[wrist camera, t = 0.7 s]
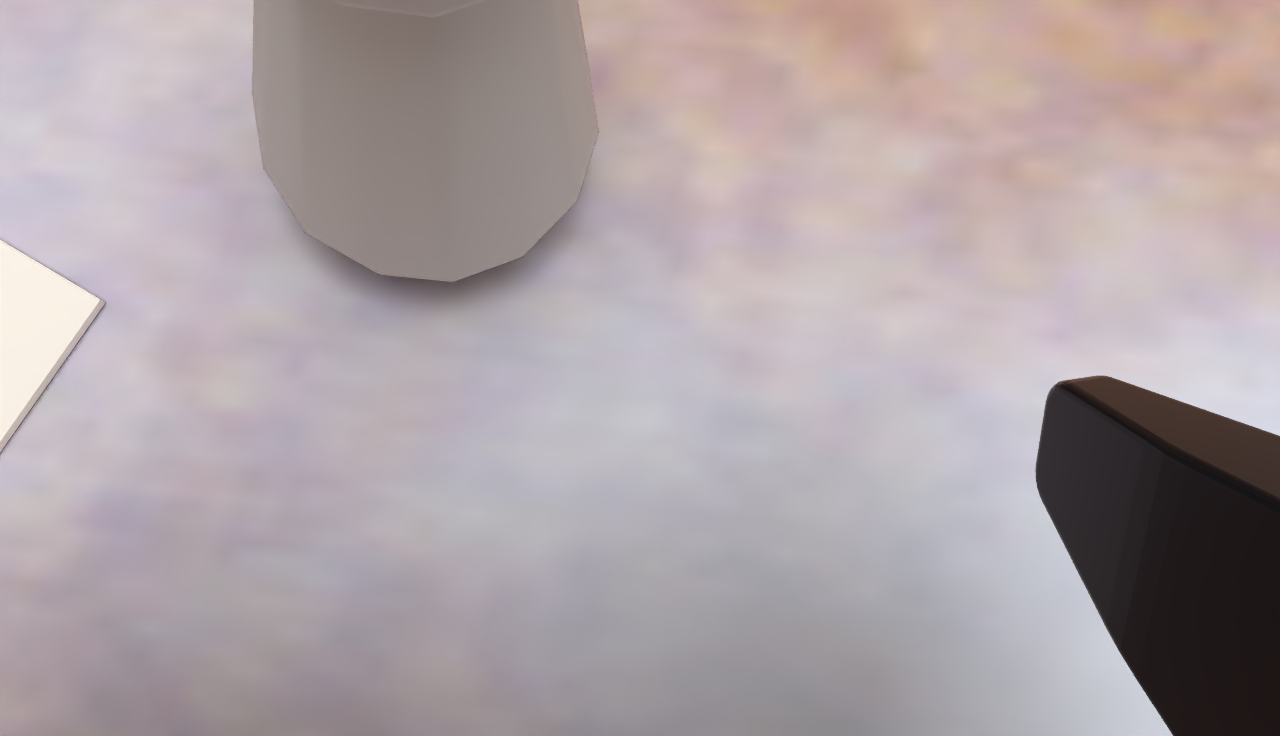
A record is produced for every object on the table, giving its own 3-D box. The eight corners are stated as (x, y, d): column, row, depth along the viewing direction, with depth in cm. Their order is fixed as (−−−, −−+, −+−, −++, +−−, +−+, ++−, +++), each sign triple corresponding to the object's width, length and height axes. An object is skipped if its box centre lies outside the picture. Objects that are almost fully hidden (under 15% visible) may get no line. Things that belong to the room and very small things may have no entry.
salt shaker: (216, 204, 22) (-129, -252, 9) (379, -39, 23) (269, -741, 11) (490, 362, 22) (515, 129, 10) (638, 115, 24) (835, -387, 11)
